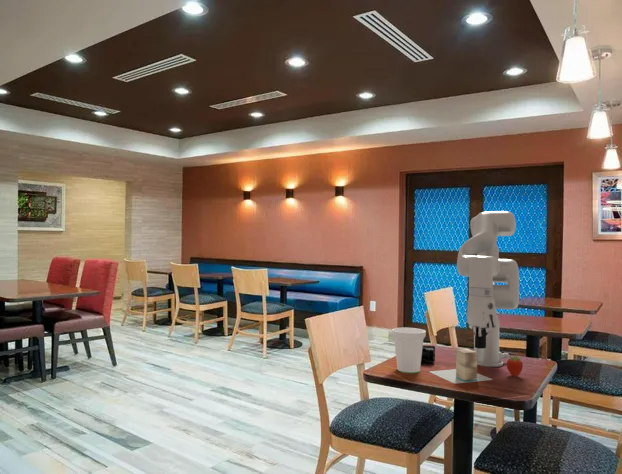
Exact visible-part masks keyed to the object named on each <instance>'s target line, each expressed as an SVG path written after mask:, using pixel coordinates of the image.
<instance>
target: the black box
mask: <svg viewBox="0 0 622 474" xmlns="http://www.w3.org/2000/svg"><path fill="white" fill-rule="evenodd" d="M435 362H436V346H435V345H423V347H422V356H421V365H420V366H423V365H424V366H435Z"/></svg>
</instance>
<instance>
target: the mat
mask: <svg viewBox="0 0 622 474" xmlns="http://www.w3.org/2000/svg"><path fill="white" fill-rule="evenodd" d="M428 373H430V374H433V375H435V376H437V377H438V378H441V379H442V380H446V381H448V382H449V383H452V384H453V385H456V384H463V383H465V384H466V383H468V382H464V381H461V380H459V379H457V378H456V368H452V369H441V370H430V371H428ZM493 380H494V379H493V378H490V377H488V376H485V375H482V374H480V373H478V372H477V381H470V382H469V383H474V382H483V381H485V382H486V381H493Z"/></svg>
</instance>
